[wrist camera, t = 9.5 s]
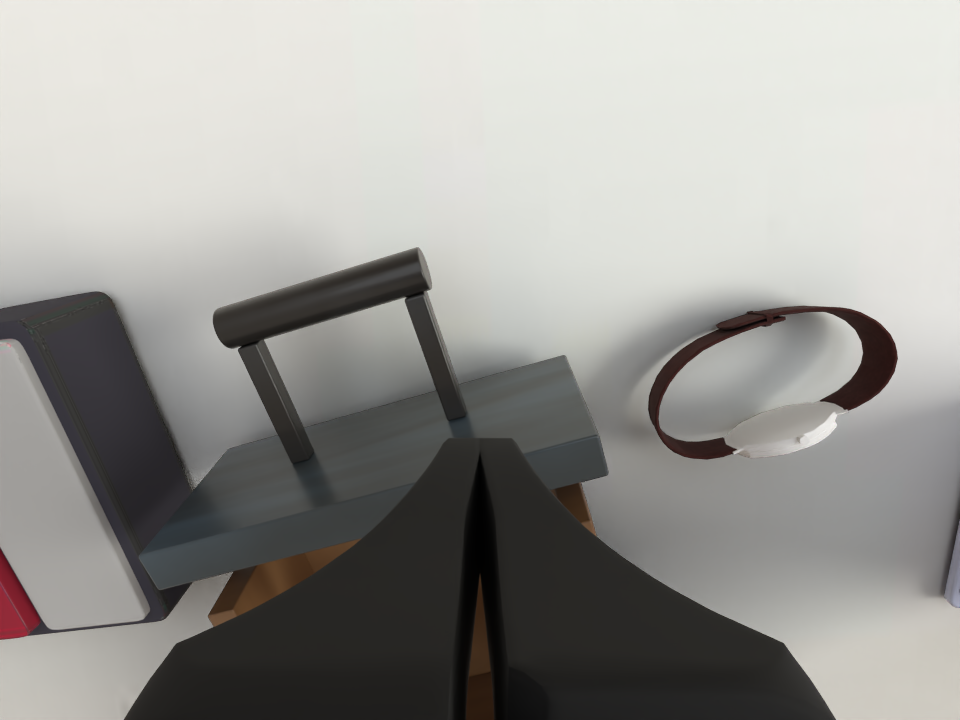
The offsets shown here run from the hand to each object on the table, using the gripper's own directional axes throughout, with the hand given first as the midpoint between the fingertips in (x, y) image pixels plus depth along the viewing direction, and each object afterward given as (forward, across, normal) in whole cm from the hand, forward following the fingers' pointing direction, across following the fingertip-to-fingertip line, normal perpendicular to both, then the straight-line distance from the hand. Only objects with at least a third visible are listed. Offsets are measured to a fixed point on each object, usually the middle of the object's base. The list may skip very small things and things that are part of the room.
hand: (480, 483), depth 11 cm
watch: (+10, +9, -1) cm, 13 cm away
